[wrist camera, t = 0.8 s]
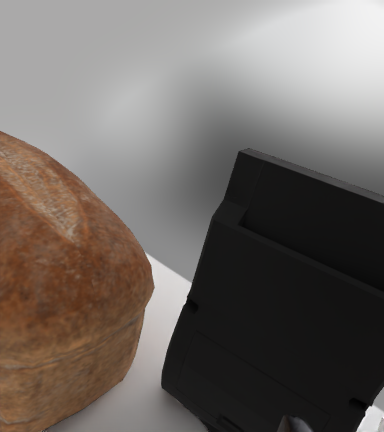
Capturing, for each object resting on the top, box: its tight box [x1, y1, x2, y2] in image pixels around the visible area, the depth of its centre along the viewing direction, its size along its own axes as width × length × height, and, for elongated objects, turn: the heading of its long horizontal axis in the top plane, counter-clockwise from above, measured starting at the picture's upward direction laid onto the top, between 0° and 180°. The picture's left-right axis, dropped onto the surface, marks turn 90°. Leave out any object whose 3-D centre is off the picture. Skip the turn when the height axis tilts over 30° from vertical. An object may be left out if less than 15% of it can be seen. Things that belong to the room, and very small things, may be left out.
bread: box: [0, 131, 155, 432], centre depth 26 cm, size 12×28×14 cm, turn 44°
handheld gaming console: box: [161, 148, 384, 432], centre depth 20 cm, size 12×5×20 cm, turn 60°
